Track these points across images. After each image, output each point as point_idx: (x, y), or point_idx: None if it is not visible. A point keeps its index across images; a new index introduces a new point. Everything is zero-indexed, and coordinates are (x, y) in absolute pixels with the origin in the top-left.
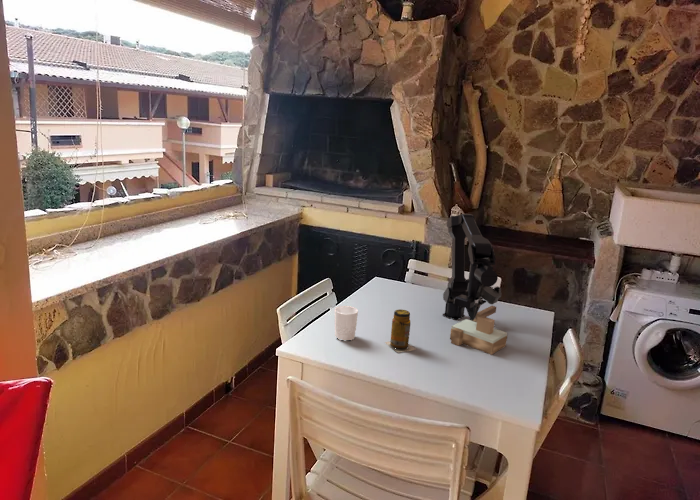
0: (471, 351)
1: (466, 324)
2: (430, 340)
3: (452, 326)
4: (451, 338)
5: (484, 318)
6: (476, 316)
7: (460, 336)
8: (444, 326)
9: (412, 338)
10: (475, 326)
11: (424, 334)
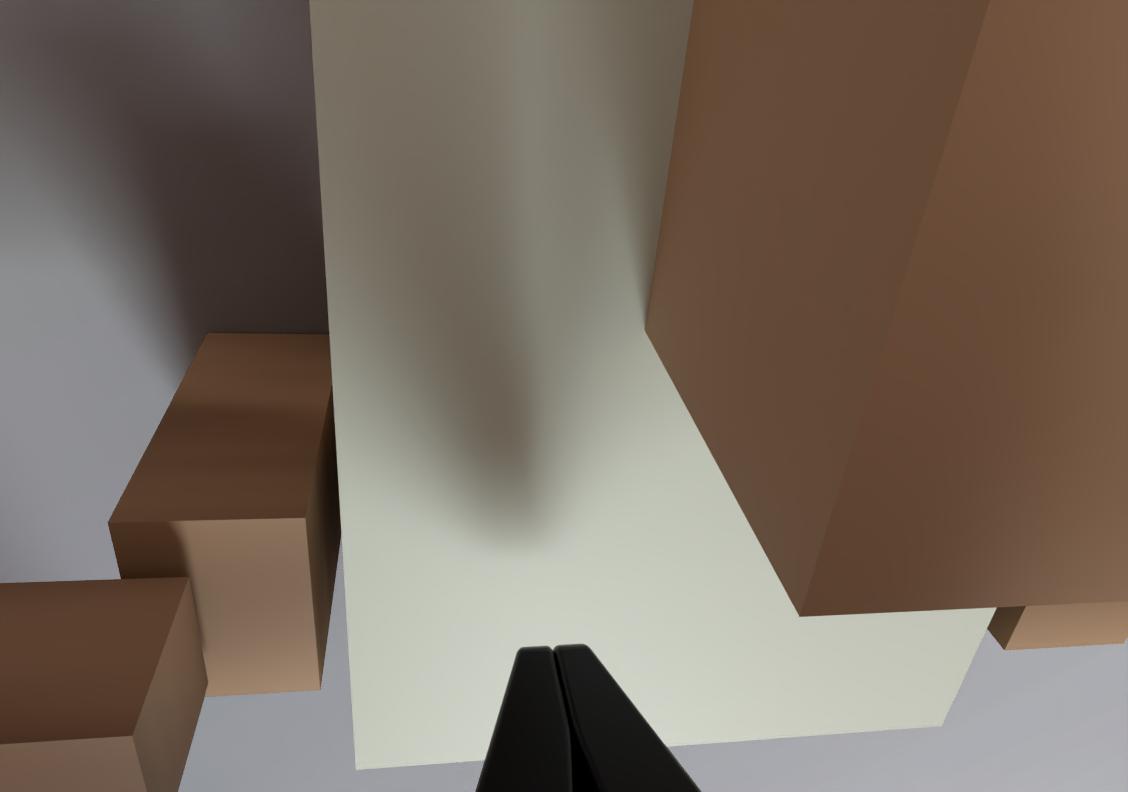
0: None
1: (671, 625)
2: (1003, 651)
3: (944, 709)
4: None
5: (1115, 358)
6: (184, 730)
7: None
8: (442, 785)
9: (1048, 767)
10: (636, 451)
11: (867, 766)
